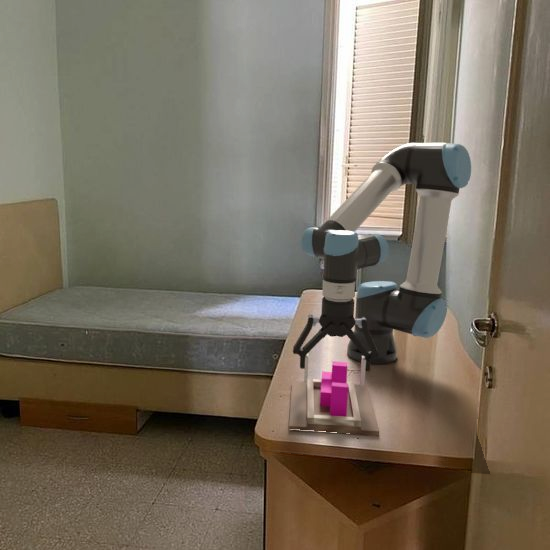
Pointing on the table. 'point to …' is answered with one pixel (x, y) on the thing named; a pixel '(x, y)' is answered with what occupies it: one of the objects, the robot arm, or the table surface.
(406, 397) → the table surface
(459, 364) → the table surface
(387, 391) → the table surface
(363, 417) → the locating board
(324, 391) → the toy block
